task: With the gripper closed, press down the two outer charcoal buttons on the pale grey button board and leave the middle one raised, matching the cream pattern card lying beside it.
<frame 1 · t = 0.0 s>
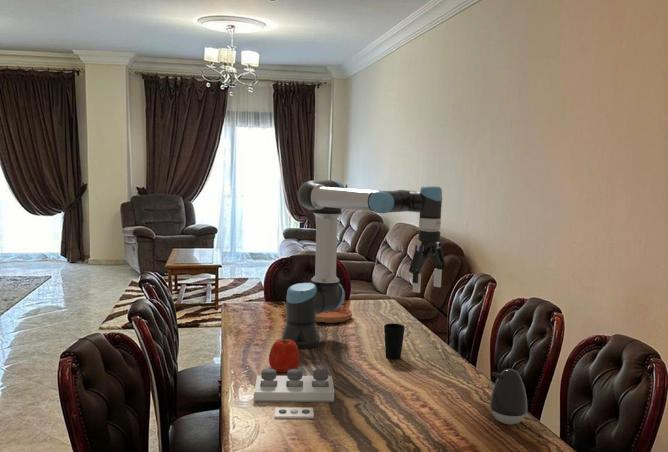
hand: (426, 289, 213), 28 cm above the table, fingers open, 13 cm apart
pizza: (327, 319, 278), on the table
button c: (268, 378, 186), point 5 cm above the table, slide at 0.0 cm
apple: (284, 369, 208), on the table
button a: (320, 379, 187), point 5 cm above the table, slide at 0.0 cm
button b: (294, 378, 186), point 5 cm above the table, slide at 0.0 cm
cup: (393, 357, 224), on the table
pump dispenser: (507, 421, 171), on the table
pattern card: (294, 413, 171), on the table
board: (294, 393, 187), on the table
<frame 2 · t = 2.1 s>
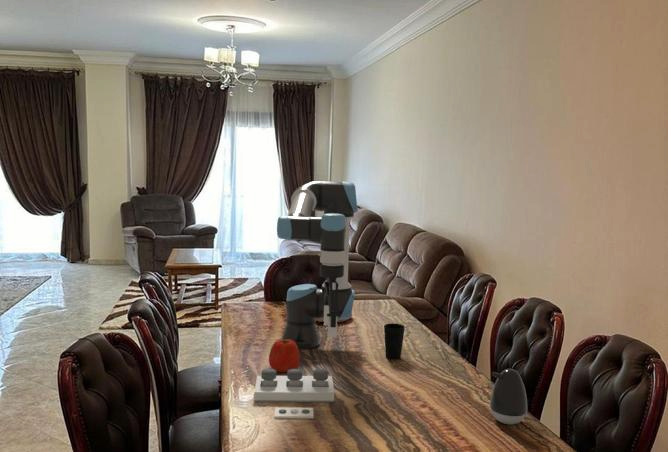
hand: (330, 331, 187), 20 cm above the table, fingers open, 13 cm apart
nothing on the table moved.
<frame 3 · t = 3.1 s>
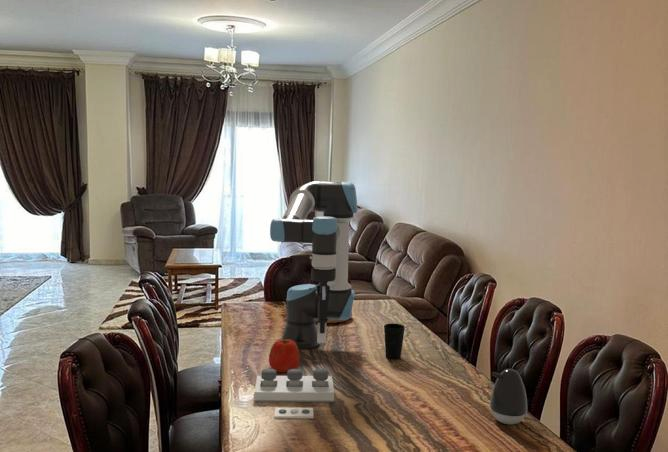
hand: (321, 342, 185), 16 cm above the table, fingers closed
nothing on the table moved.
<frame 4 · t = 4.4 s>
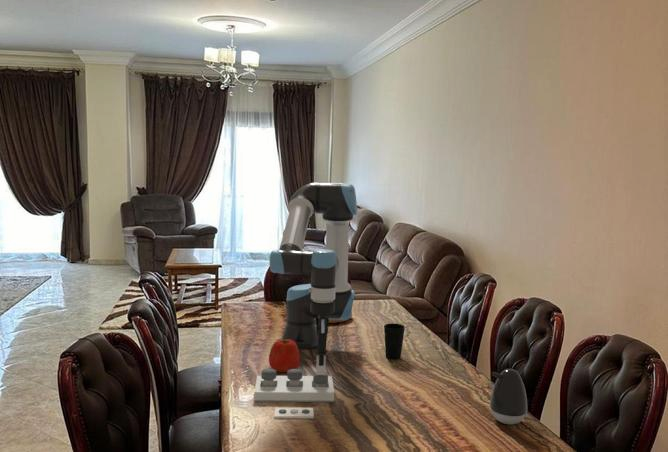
hand: (320, 374, 186), 6 cm above the table, fingers closed
button a: (320, 382, 187), point 3 cm above the table, slide at 1.1 cm
everything else where it was.
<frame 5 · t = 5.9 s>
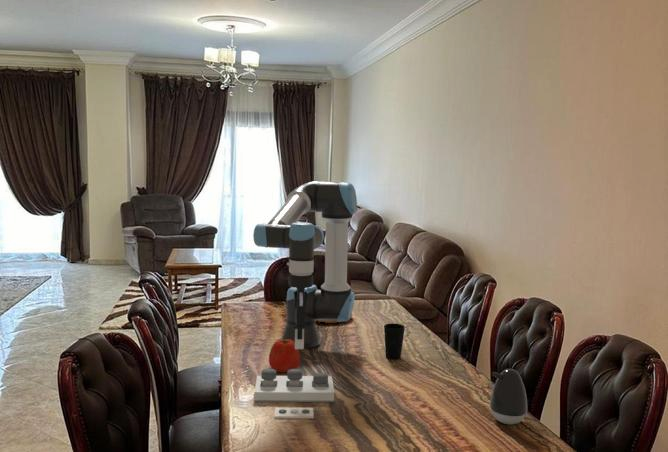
hand: (299, 348, 185), 14 cm above the table, fingers closed
nothing on the table moved.
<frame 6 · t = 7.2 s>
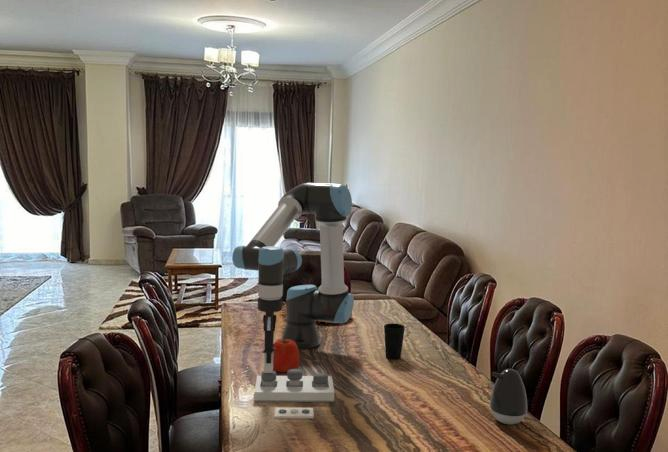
hand: (268, 372, 185), 7 cm above the table, fingers closed
button c: (268, 380, 186), point 4 cm above the table, slide at 0.5 cm, touching gripper
everything else where it was.
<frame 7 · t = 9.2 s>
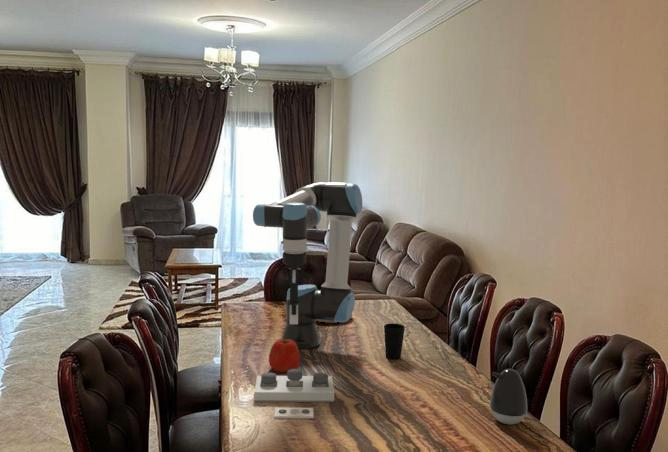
hand: (293, 323, 193), 20 cm above the table, fingers closed
button c: (268, 382, 186), point 3 cm above the table, slide at 1.3 cm
everything else where it was.
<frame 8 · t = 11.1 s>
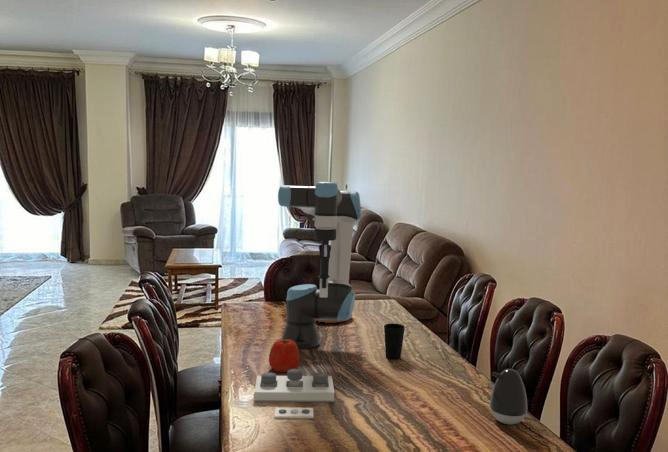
hand: (323, 296, 203), 26 cm above the table, fingers closed
nothing on the table moved.
at the end: button a slide at 1.3 cm; button c slide at 1.3 cm; button b slide at 0.0 cm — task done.
